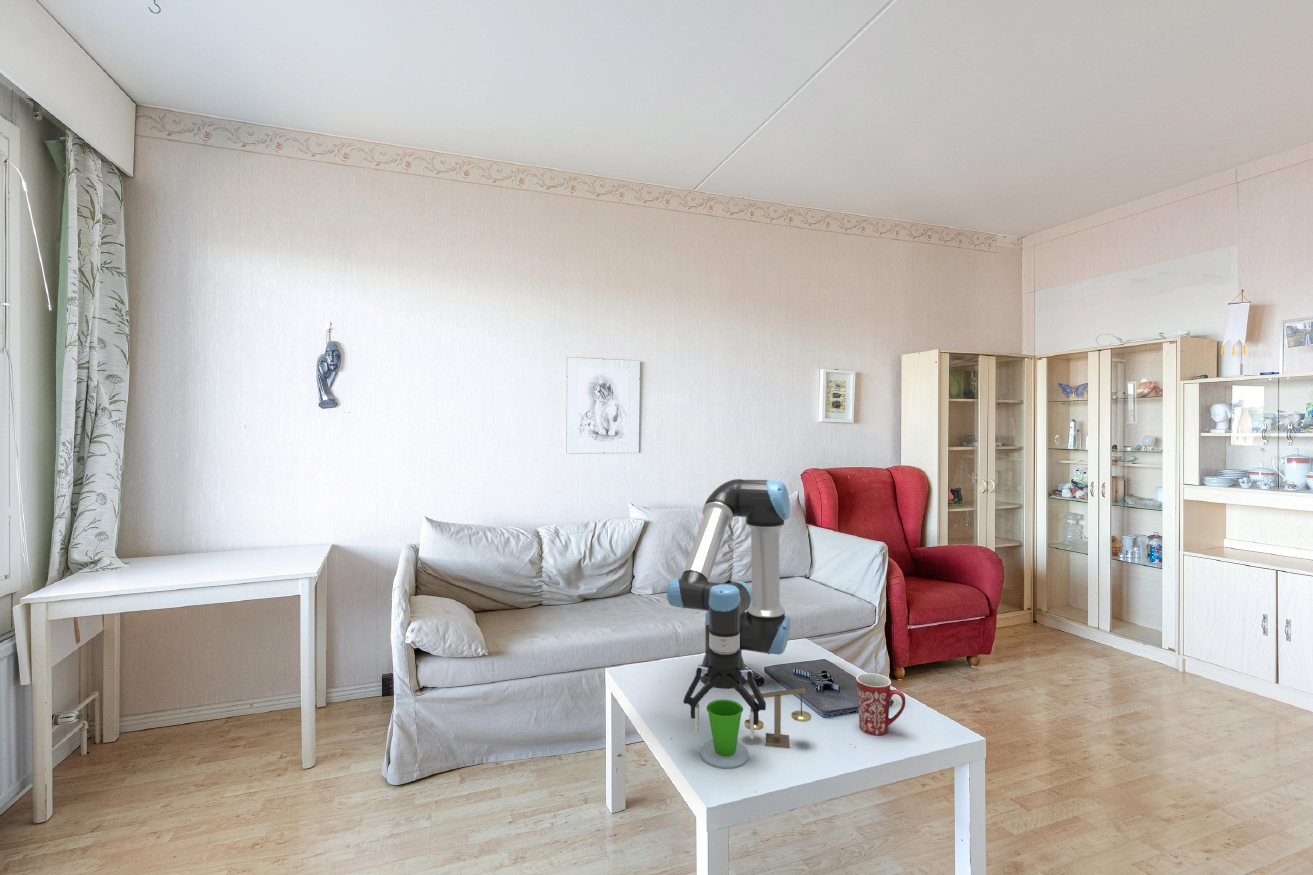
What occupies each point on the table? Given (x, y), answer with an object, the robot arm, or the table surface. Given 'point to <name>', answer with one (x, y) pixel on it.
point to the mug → (875, 703)
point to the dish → (724, 761)
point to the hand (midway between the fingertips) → (724, 733)
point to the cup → (724, 725)
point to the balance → (779, 718)
